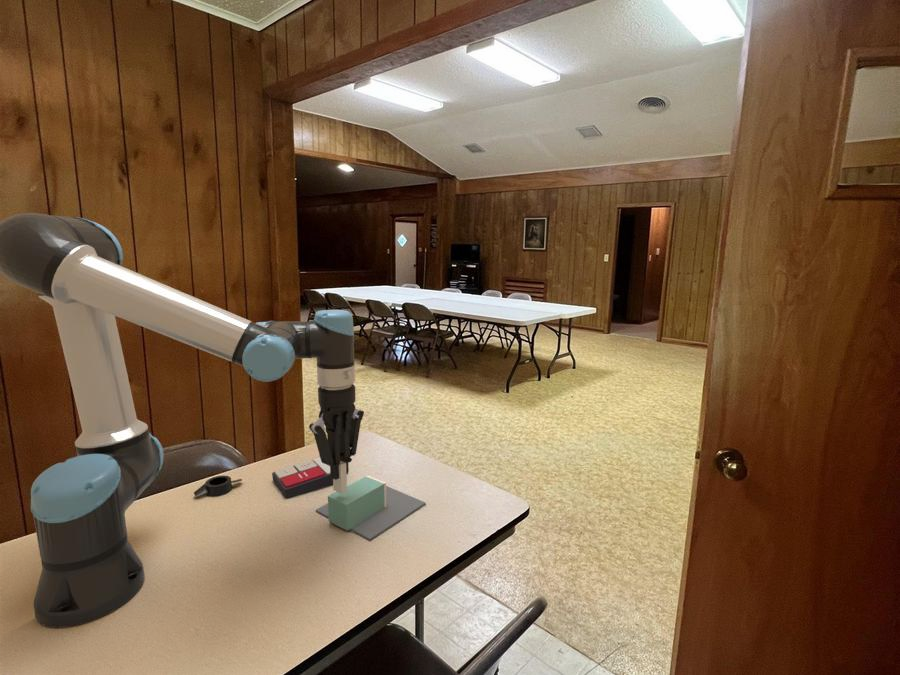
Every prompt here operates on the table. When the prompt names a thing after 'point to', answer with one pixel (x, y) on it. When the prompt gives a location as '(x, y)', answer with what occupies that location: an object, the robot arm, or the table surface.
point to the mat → (384, 514)
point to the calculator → (302, 478)
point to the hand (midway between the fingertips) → (340, 490)
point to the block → (357, 502)
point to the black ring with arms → (216, 486)
